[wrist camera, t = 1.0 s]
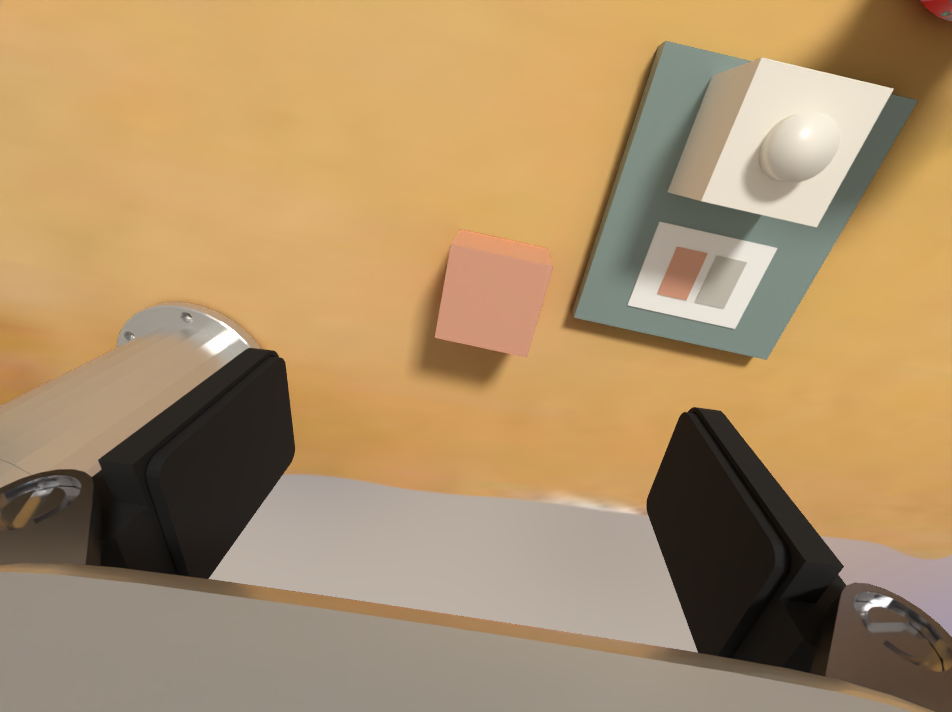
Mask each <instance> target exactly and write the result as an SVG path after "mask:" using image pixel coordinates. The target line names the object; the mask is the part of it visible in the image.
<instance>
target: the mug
mask: <svg viewBox="0 0 952 712" xmlns="http://www.w3.org/2000/svg"><path fill="white" fill-rule="evenodd" d="M920 1H921V2H922V4H923V5H924V6H925V7H926V8H927V9H928V10H929V11H930V12H931V13H933V14H934V15H935V16H937V17H939V18H941V19H943V20H946V21H949V22H952V0H920Z"/></svg>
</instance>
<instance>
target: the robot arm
mask: <svg viewBox="0 0 952 712" xmlns="http://www.w3.org/2000/svg"><path fill="white" fill-rule="evenodd" d="M294 453H295V443H294V435H293V426H292V417H291V408H290V400H289V391H288V382H287V373H286V365H285V361H284V359H282V358H279V356H278V354H277V353H276V352H275V351H271V350H264V349H261V348H260V346H259V345H258V344H257V343H256V342H255V341H254V339H253V338H252V337H251V336H250V335H249V334H248V333H247V332H246V331H245V330H243V329H242V328H241V327H240V326H239V325H237V324H236V323H235V322H233V321H232V320H230V319H229V318H227V317H225V316H224V315H222V314H220V313H218V312H216V311H213V310H211V309H209V308H206V307H203V306H200V305H196V304H192V303H185V302H167V303H160V304H157V305H154V306H151V307H148V308H146V309H144V310H142V311H140V312H138V313H136V314H134V315H133V316H132V317H131V318H130V319H129V320H128V321H127V322H126V323H125V324H124V326H123V327H122V329H121V331H120V333H119V337H118V341H117V348H115V349H113V350H111V351H109V352H107V353H105V354H103V355H101V356H99V357H97V358H95V359H93V360H91V361H89V362H87V363H85V364H83V365H81V366H79V367H77V368H75V369H73V370H71V371H69V372H67V373H65V374H63V375H61V376H59V377H57V378H55V379H53V380H51V381H49V382H47V383H45V384H43V385H41V386H39V387H37V388H35V389H33V390H31V391H29V392H27V393H25V394H23V395H21V396H19V397H17V398H15V399H13V400H11V401H9V402H7V403H5V404H3V405H1V406H0V712H952V637H951V636H950V635H949V634H948V633H947V632H946V630H945V629H944V628H943V627H942V626H941V625H940V624H939V623H938V622H936V621H935V620H934V619H933V618H931V617H930V616H929V615H928V614H926V613H925V612H924V611H923V610H921V609H920V608H918V607H917V606H915V605H914V604H912V603H910V602H909V601H907V600H906V599H904V598H903V597H901V596H899V595H896V594H894V593H892V592H890V591H888V590H886V589H884V588H881V587H877V586H874V585H871V584H865V583H853V584H850V585H847V586H846V584H845V583H844V582H843V580H842V579H841V578H840V577H839V575H838V573H839V572H840V571H841V570H842V568H843V567H844V566H843V565H842V564H841V562H840V561H839V560H838V559H837V557H836V556H835V555H834V553H833V552H832V551H831V550H830V548H829V547H828V546H827V544H826V543H825V542H824V541H823V539H822V538H821V537H820V536H819V534H818V533H817V532H816V530H815V529H814V528H813V527H812V525H811V524H810V523H809V522H808V520H807V519H806V518H805V516H804V515H803V514H802V513H801V511H800V510H799V509H798V508H797V506H796V505H795V504H794V503H793V501H792V500H791V499H790V497H789V496H788V495H787V494H786V492H785V491H784V490H783V489H782V487H781V486H780V485H779V483H778V482H777V481H776V480H775V478H774V477H773V476H772V475H771V473H770V472H769V471H768V469H767V468H766V467H765V466H764V464H763V463H762V462H761V461H760V459H759V458H758V457H757V455H756V454H755V453H754V452H753V450H752V449H751V448H750V447H749V445H748V444H747V443H746V441H745V440H744V439H743V438H742V436H741V435H740V434H739V433H738V431H737V430H736V429H735V427H734V426H733V425H732V424H731V422H730V421H729V420H728V419H727V417H726V416H725V415H724V414H723V413H722V412H721V411H718V410H711V409H703V408H696V407H694V408H691V409H690V410H689V411H688V413H687V412H684V413H682V414H681V415H680V417H679V419H678V422H677V425H676V427H675V430H674V432H673V435H672V437H671V440H670V442H669V445H668V447H667V450H666V452H665V455H664V457H663V460H662V462H661V465H660V468H659V470H658V473H657V475H656V478H655V480H654V483H653V485H652V488H651V490H650V493H649V495H648V498H647V513H648V516H649V518H650V521H651V524H652V526H653V530H654V532H655V535H656V538H657V541H658V543H659V546H660V549H661V552H662V554H663V557H664V560H665V563H666V565H667V568H668V571H669V573H670V576H671V579H672V582H673V585H674V587H675V590H676V593H677V596H678V598H679V601H680V604H681V607H682V609H683V612H684V615H685V618H686V620H687V623H688V626H689V629H690V631H691V634H692V637H693V640H694V642H695V645H696V648H697V650H698V653H696V652H690V651H685V650H678V649H671V648H665V647H659V646H652V645H646V644H639V643H633V642H627V641H620V640H614V639H608V638H601V637H594V636H588V635H582V634H575V633H569V632H563V631H556V630H549V629H543V628H537V627H530V626H523V625H517V624H511V623H503V622H497V621H491V620H484V619H477V618H470V617H464V616H458V615H451V614H444V613H437V612H431V611H424V610H417V609H411V608H404V607H397V606H390V605H384V604H377V603H371V602H364V601H357V600H350V599H343V598H336V597H329V596H323V595H316V594H309V593H302V592H295V591H288V590H281V589H274V588H266V587H260V586H253V585H246V584H239V583H232V582H225V581H219V580H212V579H209V577H210V576H211V574H212V573H213V572H214V570H215V569H216V567H217V566H218V564H219V563H220V562H221V560H222V559H223V557H224V556H225V555H226V553H227V552H228V551H229V549H230V548H231V546H232V545H233V544H234V542H235V541H236V539H237V538H238V536H239V535H240V534H241V532H242V531H243V529H244V528H245V527H246V525H247V524H248V522H249V521H250V520H251V518H252V517H253V515H254V514H255V513H256V511H257V510H258V508H259V507H260V506H261V504H262V503H263V501H264V500H265V499H266V497H267V496H268V494H269V493H270V492H271V490H272V489H273V487H274V486H275V485H276V483H277V482H278V480H279V479H280V477H281V476H282V475H283V473H284V472H285V471H286V469H287V468H288V466H289V465H290V463H291V462H292V460H293V457H294Z"/></svg>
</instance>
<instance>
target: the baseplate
mask: <svg viewBox="0 0 952 712" xmlns="http://www.w3.org/2000/svg"><path fill="white" fill-rule="evenodd" d="M892 91H893V88H889V87H885V86H881V85H876V84H872V83H868V82H864V81H859V80H855V79H851V78H847V77H843V76H838V75H834V74H830V73H826V72H821V71H817V70H813V69H809V68H804V67H800V66H796V65H792V64H787V63H783V62H779V61H775V60H770V59H766V58H759V59H756V60H754V61H749V60H745V59H740V58H736V57H732V56H728V55H723V54H719V53H715V52H711V51H706V50H702V49H698V48H694V47H689V46H685V45H681V44H677V43H672V42H668V41H665V42H664V43H662V44H661V45H659V46H658V49H657V52H656V56H655V59H654V62H653V65H652V68H651V71H650V74H649V77H648V80H647V83H646V86H645V89H644V92H643V95H642V98H641V101H640V104H639V108H638V111H637V114H636V117H635V120H634V123H633V126H632V129H631V132H630V135H629V138H628V141H627V144H626V147H625V150H624V153H623V157H622V160H621V163H620V166H619V169H618V172H617V175H616V178H615V181H614V184H613V187H612V190H611V193H610V196H609V199H608V202H607V205H606V209H605V212H604V215H603V218H602V221H601V224H600V227H599V230H598V233H597V236H596V239H595V242H594V245H593V248H592V251H591V254H590V257H589V261H588V264H587V267H586V270H585V273H584V276H583V279H582V282H581V285H580V288H579V291H578V294H577V297H576V300H575V303H574V306H573V310H572V314H573V316H574V318H578V319H582V320H587V321H592V322H596V323H601V324H605V325H610V326H614V327H619V328H624V329H628V330H633V331H637V332H642V333H646V334H651V335H656V336H660V337H665V338H669V339H674V340H678V341H683V342H688V343H692V344H697V345H701V346H706V347H710V348H715V349H720V350H724V351H729V352H733V353H738V354H742V355H747V356H752V357H756V358H761V359H765V360H767V358H768V357H769V355H770V353H771V351H772V350H773V348H774V346H775V345H776V343H777V341H778V339H779V338H780V336H781V334H782V333H783V331H784V329H785V327H786V326H787V324H788V322H789V321H790V319H791V317H792V315H793V314H794V312H795V310H796V309H797V307H798V305H799V304H800V302H801V300H802V298H803V297H804V295H805V293H806V292H807V290H808V288H809V286H810V285H811V283H812V281H813V280H814V278H815V276H816V274H817V273H818V271H819V269H820V268H821V266H822V264H823V263H824V261H825V259H826V257H827V256H828V254H829V252H830V251H831V249H832V247H833V245H834V244H835V242H836V240H837V239H838V237H839V235H840V233H841V232H842V230H843V228H844V227H845V225H846V223H847V221H848V220H849V218H850V216H851V215H852V213H853V211H854V210H855V208H856V206H857V204H858V203H859V201H860V199H861V198H862V196H863V194H864V192H865V191H866V189H867V187H868V186H869V184H870V182H871V180H872V179H873V177H874V175H875V174H876V172H877V170H878V168H879V167H880V165H881V163H882V162H883V160H884V158H885V157H886V155H887V153H888V151H889V150H890V148H891V146H892V145H893V143H894V141H895V139H896V138H897V136H898V134H899V133H900V131H901V129H902V127H903V126H904V124H905V122H906V121H907V119H908V117H909V116H910V114H911V112H912V110H913V109H914V107H915V105H916V104H917V102H918V100H914V99H910V98H906V97H902V96H897V95H893V94H891V93H892Z"/></svg>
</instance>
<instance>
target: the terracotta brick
mask: <svg viewBox="0 0 952 712" xmlns="http://www.w3.org/2000/svg"><path fill="white" fill-rule="evenodd" d="M552 269H553V264H552V261H551V259H550V256H549V253H548V251H547V248H543V247H539V246H534V245H530V244H525V243H521V242H516V241H512V240H507V239H503V238H498V237H494V236H489V235H485V234H480V233H476V232H471V231H467V230H462V229H460V230H459V232H458V234H457V235H456V237H455V238H454V240H453V241H452V243H451V246H450V252H449V258H448V264H447V269H446V275H445V281H444V287H443V293H442V298H441V304H440V310H439V316H438V321H437V327H436V333H435V338H438V339H443V340H448V341H452V342H457V343H462V344H466V345H471V346H475V347H480V348H485V349H489V350H494V351H499V352H503V353H508V354H512V355H517V356H522V357H526V358H527V356H528V352H529V349H530V345H531V342H532V338H533V335H534V331H535V328H536V324H537V321H538V318H539V314H540V311H541V307H542V304H543V300H544V297H545V293H546V290H547V287H548V283H549V280H550V276H551V273H552Z"/></svg>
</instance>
